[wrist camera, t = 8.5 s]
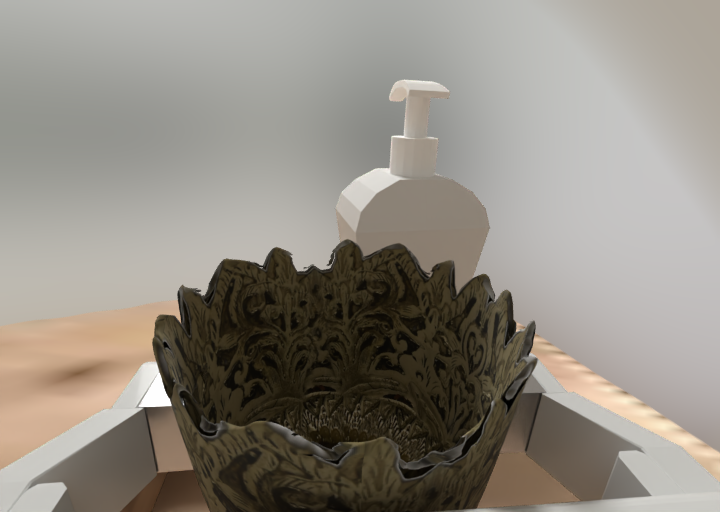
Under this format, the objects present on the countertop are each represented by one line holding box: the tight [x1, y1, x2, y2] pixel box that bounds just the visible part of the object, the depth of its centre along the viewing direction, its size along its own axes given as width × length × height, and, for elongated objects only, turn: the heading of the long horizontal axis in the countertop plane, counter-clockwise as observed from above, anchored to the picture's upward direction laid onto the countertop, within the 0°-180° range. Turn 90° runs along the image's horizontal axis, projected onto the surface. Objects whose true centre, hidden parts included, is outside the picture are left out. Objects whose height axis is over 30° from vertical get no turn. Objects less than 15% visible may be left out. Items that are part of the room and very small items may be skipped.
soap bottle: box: [336, 80, 490, 294], centre depth 37 cm, size 12×10×26 cm
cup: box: [152, 239, 538, 512], centre depth 9 cm, size 8×7×8 cm
